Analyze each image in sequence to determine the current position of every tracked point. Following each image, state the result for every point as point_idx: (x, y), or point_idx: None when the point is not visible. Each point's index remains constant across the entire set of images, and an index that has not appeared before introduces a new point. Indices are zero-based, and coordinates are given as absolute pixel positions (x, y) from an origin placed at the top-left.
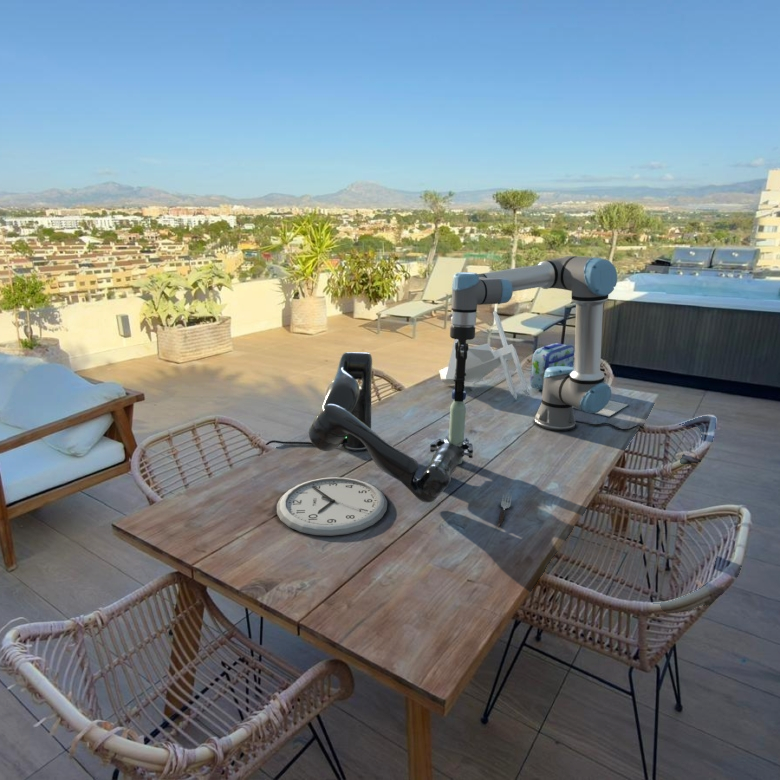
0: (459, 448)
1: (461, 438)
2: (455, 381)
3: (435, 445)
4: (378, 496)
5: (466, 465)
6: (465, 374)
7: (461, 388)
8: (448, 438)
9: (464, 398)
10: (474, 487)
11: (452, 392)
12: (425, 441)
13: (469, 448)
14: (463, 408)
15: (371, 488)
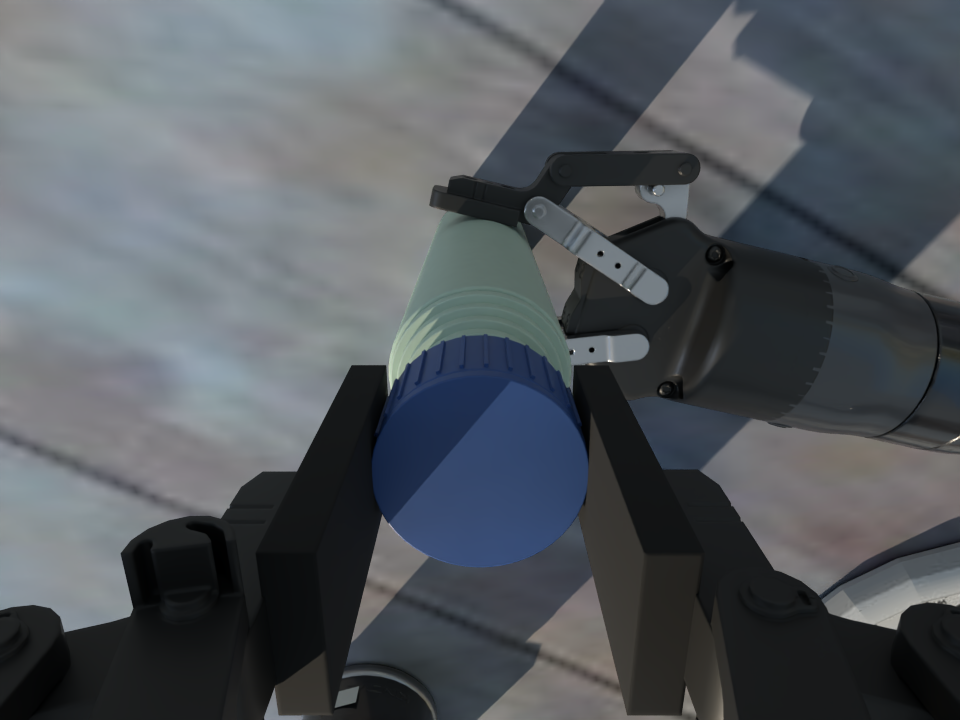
0: (655, 256)
1: (526, 245)
2: (663, 705)
3: None
4: (956, 591)
5: (528, 172)
6: (200, 553)
7: (736, 519)
8: None
9: (535, 355)
10: (821, 133)
11: (500, 554)
12: (220, 418)
13: (657, 180)
14: (544, 317)
15: (874, 622)
